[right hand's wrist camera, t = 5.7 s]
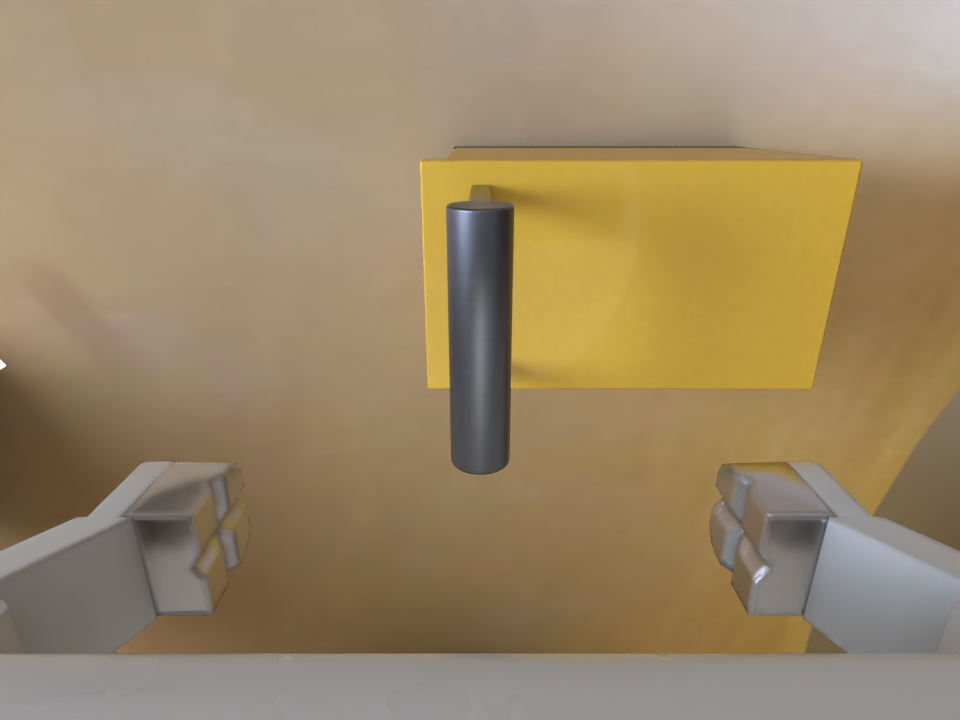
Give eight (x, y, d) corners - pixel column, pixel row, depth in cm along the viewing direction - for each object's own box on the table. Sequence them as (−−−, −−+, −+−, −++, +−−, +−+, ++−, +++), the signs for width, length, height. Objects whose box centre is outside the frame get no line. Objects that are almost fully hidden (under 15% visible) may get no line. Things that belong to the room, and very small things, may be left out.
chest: (457, 308, 36) (448, 379, 27) (454, 146, 33) (443, 158, 23) (713, 308, 36) (799, 379, 27) (736, 146, 33) (846, 158, 23)
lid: (429, 379, 27) (406, 495, 18) (422, 158, 23) (389, 179, 15) (799, 379, 26) (943, 496, 18) (846, 158, 23) (1048, 179, 15)
